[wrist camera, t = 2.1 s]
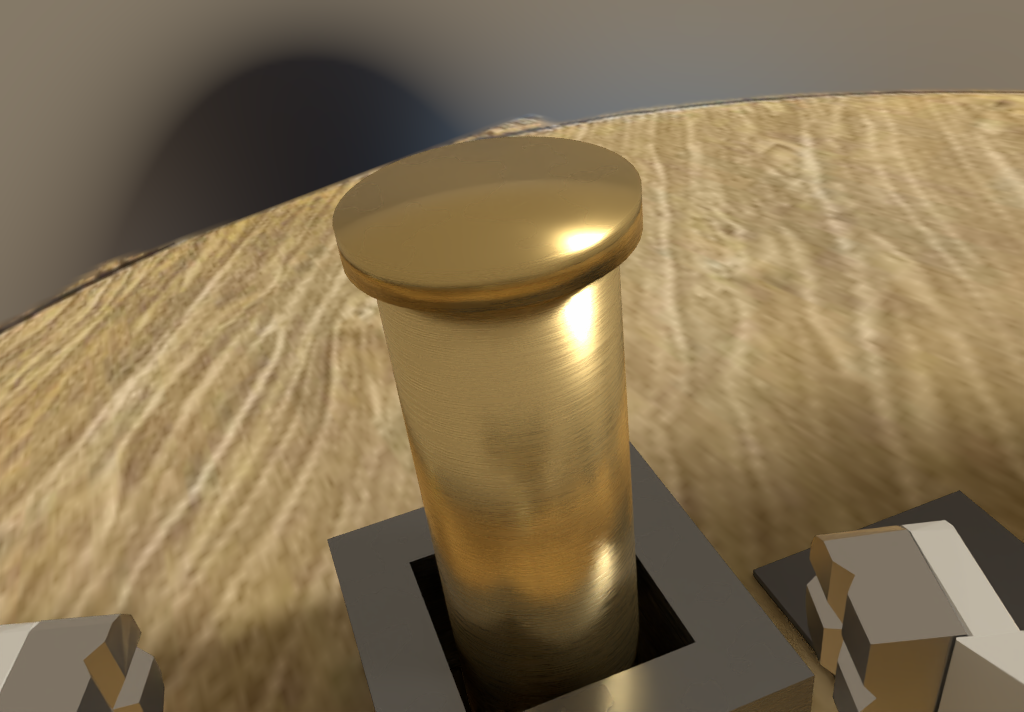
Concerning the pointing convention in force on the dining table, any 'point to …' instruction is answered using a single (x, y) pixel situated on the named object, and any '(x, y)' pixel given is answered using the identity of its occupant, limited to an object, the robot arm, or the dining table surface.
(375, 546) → the housing
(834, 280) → the dining table surface
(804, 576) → the pad
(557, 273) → the brass capped peg
